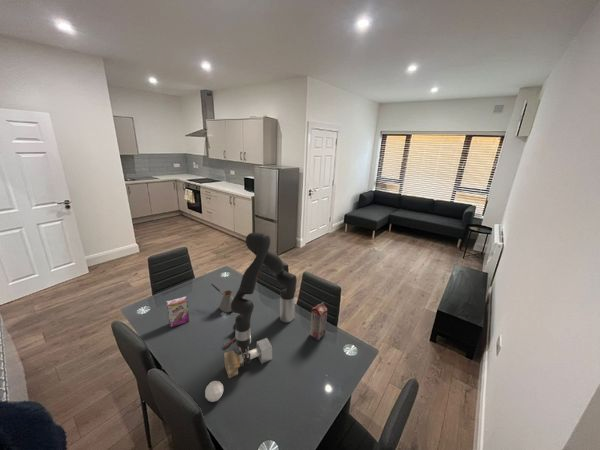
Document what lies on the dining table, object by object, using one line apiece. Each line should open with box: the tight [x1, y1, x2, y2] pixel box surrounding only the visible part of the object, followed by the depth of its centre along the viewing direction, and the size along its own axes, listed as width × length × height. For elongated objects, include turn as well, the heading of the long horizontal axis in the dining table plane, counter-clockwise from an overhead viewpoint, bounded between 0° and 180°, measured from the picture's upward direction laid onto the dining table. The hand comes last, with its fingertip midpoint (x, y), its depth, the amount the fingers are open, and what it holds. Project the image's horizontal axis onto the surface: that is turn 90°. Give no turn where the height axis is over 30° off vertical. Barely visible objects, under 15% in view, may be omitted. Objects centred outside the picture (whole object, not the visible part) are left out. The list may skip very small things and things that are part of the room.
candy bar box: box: [165, 296, 190, 328], centre depth 149 cm, size 11×5×16 cm, turn 123°
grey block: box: [256, 337, 273, 365], centre depth 129 cm, size 6×7×8 cm
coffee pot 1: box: [210, 283, 234, 313], centre depth 167 cm, size 21×12×15 cm, turn 61°
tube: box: [234, 347, 261, 369], centre depth 125 cm, size 18×7×7 cm, turn 121°
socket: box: [223, 349, 239, 379], centre depth 120 cm, size 4×8×9 cm, turn 31°
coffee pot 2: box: [222, 323, 236, 350], centre depth 142 cm, size 8×18×8 cm
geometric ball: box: [204, 380, 224, 403], centre depth 107 cm, size 8×8×8 cm
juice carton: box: [309, 301, 328, 341], centre depth 144 cm, size 7×7×22 cm
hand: (244, 361), depth 124 cm, fingers open, 4 cm apart
